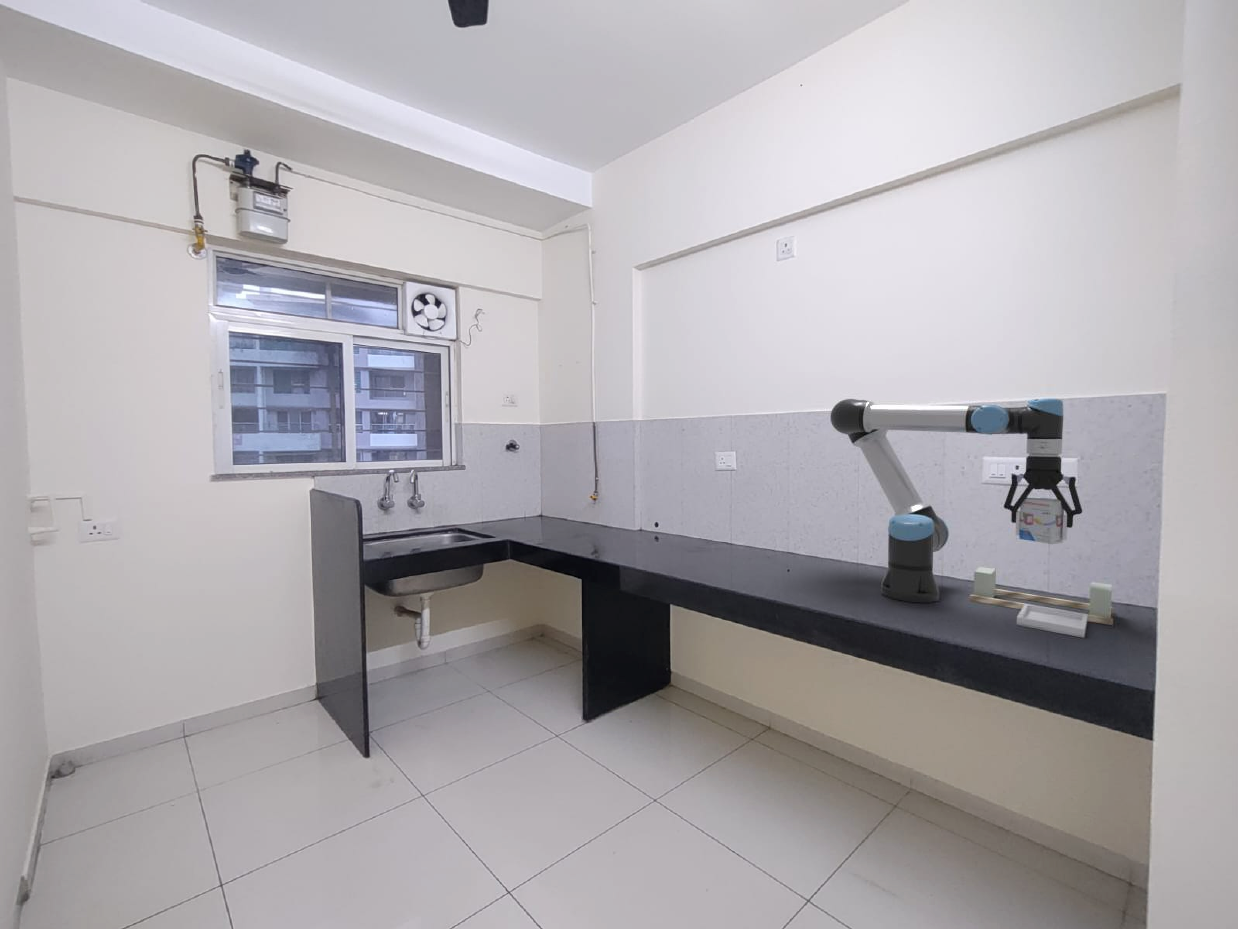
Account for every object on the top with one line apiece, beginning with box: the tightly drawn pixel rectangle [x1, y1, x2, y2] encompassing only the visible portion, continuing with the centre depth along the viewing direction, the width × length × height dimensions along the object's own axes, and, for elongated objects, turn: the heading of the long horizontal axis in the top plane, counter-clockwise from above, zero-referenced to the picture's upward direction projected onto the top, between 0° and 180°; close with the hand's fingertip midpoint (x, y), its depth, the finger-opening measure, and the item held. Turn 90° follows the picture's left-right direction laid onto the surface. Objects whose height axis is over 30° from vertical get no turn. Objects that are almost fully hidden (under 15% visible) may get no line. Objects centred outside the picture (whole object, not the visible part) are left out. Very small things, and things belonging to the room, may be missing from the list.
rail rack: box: [969, 588, 1114, 626], centre depth 145 cm, size 30×13×2 cm, turn 46°
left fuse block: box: [973, 566, 997, 598], centre depth 154 cm, size 4×8×8 cm, turn 136°
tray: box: [1016, 603, 1089, 639], centre depth 132 cm, size 13×15×2 cm
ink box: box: [1018, 496, 1065, 545], centre depth 144 cm, size 9×5×12 cm, turn 21°
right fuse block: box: [1088, 581, 1113, 618], centre depth 137 cm, size 4×8×8 cm, turn 136°
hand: (1040, 537), depth 145 cm, fingers closed on ink box, 9 cm apart
